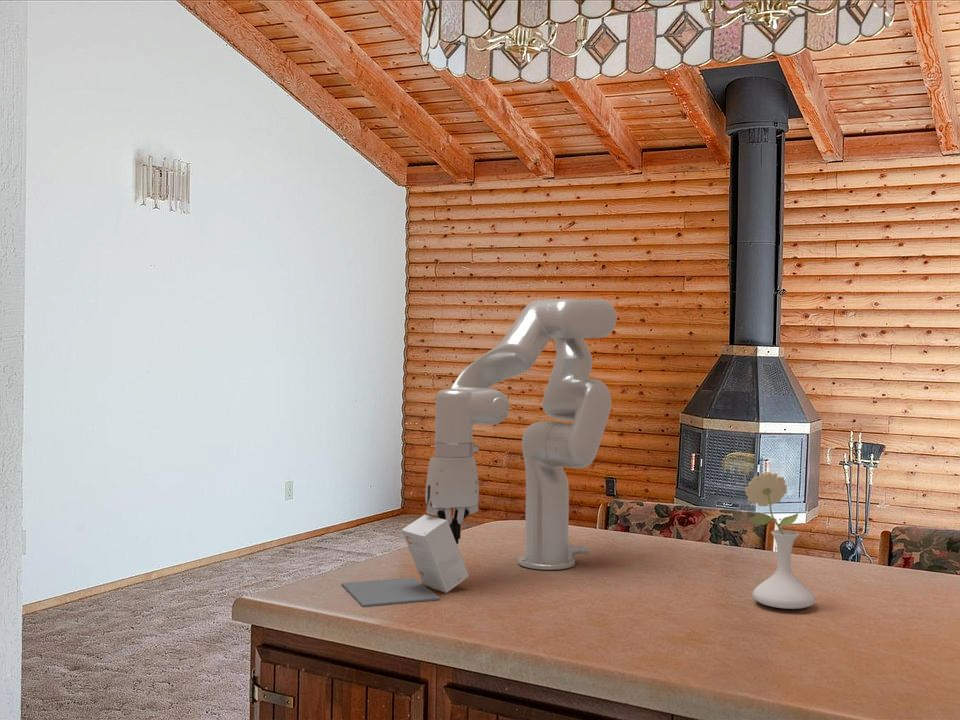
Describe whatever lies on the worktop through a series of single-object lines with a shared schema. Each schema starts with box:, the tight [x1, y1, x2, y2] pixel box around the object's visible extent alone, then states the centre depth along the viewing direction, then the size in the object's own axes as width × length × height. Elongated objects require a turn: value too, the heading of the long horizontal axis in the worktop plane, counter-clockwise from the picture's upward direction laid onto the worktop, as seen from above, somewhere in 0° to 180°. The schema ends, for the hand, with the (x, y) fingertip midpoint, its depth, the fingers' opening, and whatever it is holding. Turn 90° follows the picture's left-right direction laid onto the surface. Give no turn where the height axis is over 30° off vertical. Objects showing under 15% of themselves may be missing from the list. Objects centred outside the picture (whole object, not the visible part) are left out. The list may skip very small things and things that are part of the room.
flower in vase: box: [744, 471, 817, 610], centre depth 178 cm, size 13×11×25 cm
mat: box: [341, 576, 441, 608], centre depth 185 cm, size 15×17×1 cm
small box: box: [401, 514, 470, 594], centre depth 187 cm, size 8×6×13 cm
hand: (451, 542), depth 189 cm, fingers closed
